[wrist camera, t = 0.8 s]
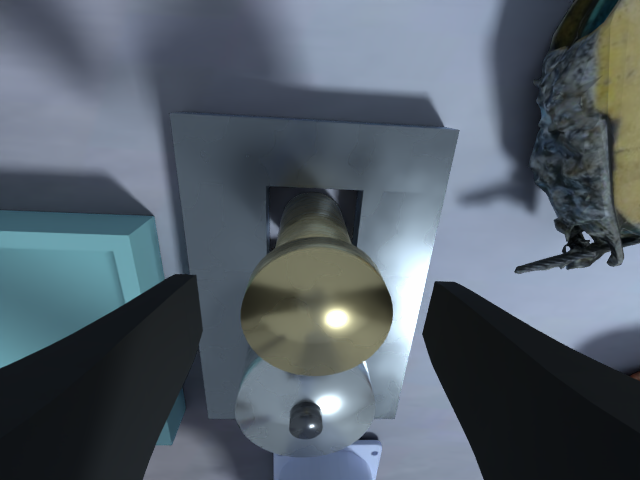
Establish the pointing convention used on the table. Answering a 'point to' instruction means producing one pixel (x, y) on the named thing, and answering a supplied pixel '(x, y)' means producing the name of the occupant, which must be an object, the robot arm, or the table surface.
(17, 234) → the tray
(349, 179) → the plate
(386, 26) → the table surface
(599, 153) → the yellow flat irregular piece
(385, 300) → the pin
